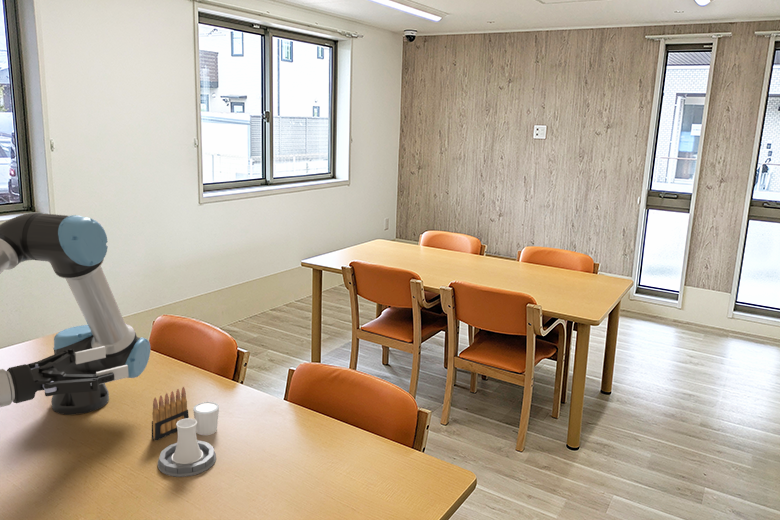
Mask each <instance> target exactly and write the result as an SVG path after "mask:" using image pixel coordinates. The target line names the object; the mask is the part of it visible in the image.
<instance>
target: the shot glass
mask: <svg viewBox="0 0 780 520" xmlns="http://www.w3.org/2000/svg"><path fill="white" fill-rule="evenodd" d="M192 411H193V419H195V420H196V421H197V425H196V435H199V436H210V435H213V434H215V433H216V432H217V431H218V424H219V423H218V422H219V421H218V420H219V412H220V404H218V403H217V402H213V401H204V402H199V403H197V404H196V405H194V406H193V408H192Z"/></svg>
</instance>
